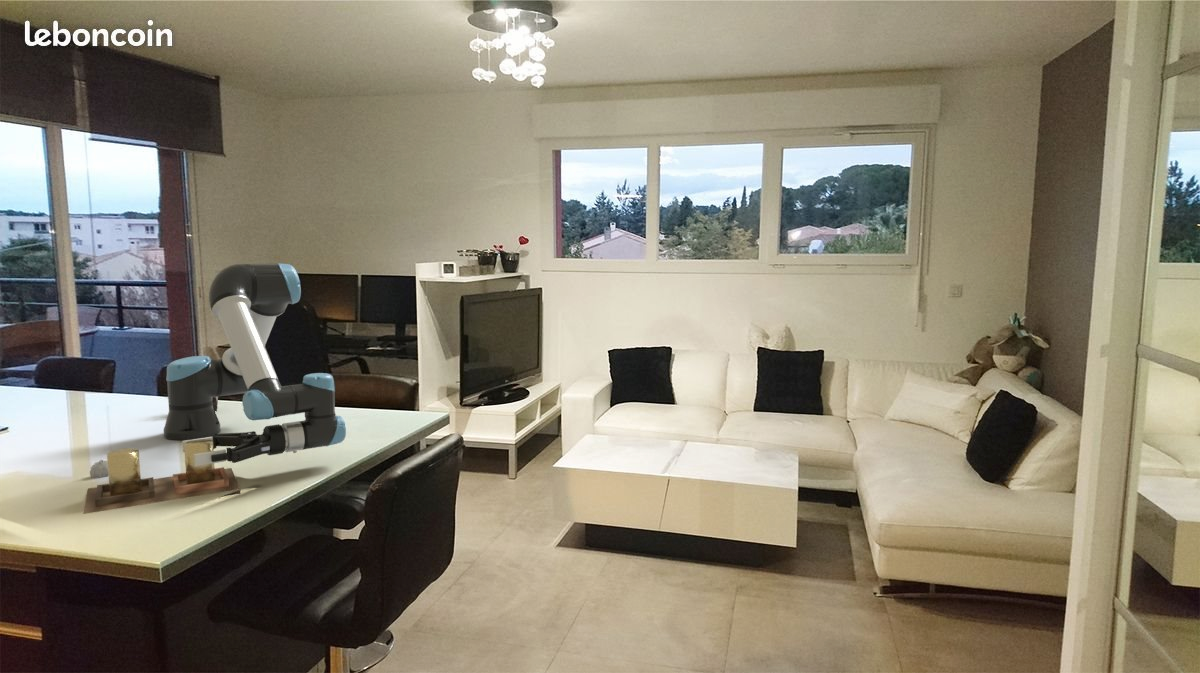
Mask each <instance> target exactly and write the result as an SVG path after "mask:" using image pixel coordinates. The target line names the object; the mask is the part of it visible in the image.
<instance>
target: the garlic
mask: <svg viewBox="0 0 1200 673" xmlns="http://www.w3.org/2000/svg"><path fill="white" fill-rule="evenodd" d="M89 476H90V477H91V478H105V477H109V475H108V462H107V460H104V459H99V461H96V462H95V463H94V464H92V466H91V467H90V470H89Z"/></svg>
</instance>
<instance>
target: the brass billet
mask: <svg viewBox="0 0 1200 673" xmlns="http://www.w3.org/2000/svg"><path fill="white" fill-rule="evenodd" d="M199 439H200V438H199ZM192 440H193V439H192ZM184 449H185V452H184V462H185V473H186V480H187V485H189V484H196V483H202V482H209V481H215V463H212V464H206V465H200V466H195V465H194V454H198V453H205V452H211V451H215V449H213V441H212V440H209V439H200V440H193V441H189V442H186V443H185V444H184Z"/></svg>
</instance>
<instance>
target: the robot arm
mask: <svg viewBox="0 0 1200 673" xmlns="http://www.w3.org/2000/svg"><path fill="white" fill-rule="evenodd" d="M301 294H302V289H301V280H300V278H299V274H298V272H297V270H296V268H295V267H294V266H292V264H289V263H279V262H275V263H235V264H230V265H229V266H227V267H224V268H223V269H222V270H220V271H219V272H218V273H217V274H216V276H215V277H214V278H213V280H212V282H211V284H210V287H209V291H208V303H209V307H210V310H211V312H212V314H213V316H214V317H215V318H217V319H219V321H220V323H221V326H222V328H223V330H224V333H225V336H226V338H227V341H228V344H229V346H230V347H229V348H227V349H226V350H225V351H224V353H223V354H222V356H221V358H217V359H211V357H210V356H209V355H197V356H196V355H195V356H187V357H183V358H180V359H176V360H173V361H171V362H170V363H169V364H168V365H167V367H166V378H165V380H166V383H167V384H166V385H167V397H168V398H167V400H168V414H167V417H166V421H165V423H164V427H163V437H164V438H165V439H168V440H174V441H176V440H177V441H181V442H182V453H185V449H184V444H185V443H186V442H189V441H193V440H200V439H209V440H212V441H213V450H214V451H211V452H205V453H198V454H194V465H195V466H200V465H206V464H212V463H214V464H216V463H217V464H219V463H224V462H231V463H233V464H235V463H236V464H237V463H239V462H242V461H245V460H248V459H251V458H255V457H257V456H261V455H265V454H267V456H275V455H281V454H284V453H290V452H293V453H294V454H296V453H297V452H298V451H303V450H308V449H315V448H322V447H329V446H333V445H337V444H340V443H342V442H343V441H345V438H346V435H347V427H346V423H345V420H344V418H343V417H342V416H341V415H336V411H335V410H336V406H335V405H336V404H335V403H336V399H335V398H336V395H335V392H336V391H335V390H336V389H335V388H336V387H335V380H334V376H333V375H332V374H330V373H327V372H325V373H324V372H315V373H308V374H305V375H304V376H303V377H302V383H298V384H289V385H284V386H283V385H281V383H280V380H279V378H278V376H277V373H276V371H275V368H274V366H273V364H272V361H271V358H270V355H269V353H268V351H267V348H266V344H267V341H268V339H269V337H270V334H271V331H272V329H273V327H274V324H275V322H276V319H277V317H279V316H280V315H283V313H285V311H286V309H287V307H288V305H289V304H291V305H294V304H297V303H298V302H299V301H300V299H301ZM239 394H243V396H242V400H241V401H242V410H243V412H244V415H245V417H246V418H247V419H248V420H251V421H261V420H270V419H273V418H279V417H286V416H291V415H297V414H304V418H305V419H304V420H300V421H290V422H284V423H282V424H280V423H279V424H273V425H271V424H270V425H265V427H264V428H263V430H262V431H263V432H262V434H257V432H256V431H254V430H253V431H247V432H246V431H245V432H244V431H243V432H226V433H223V432H222V433H220V432H221V429H222V428H221V423H220V420H219V418H218V416H217V414H216V412H215V411H214V409H213V402H212V398H213V397H218V398H219V397H222V396H223V397H224V396H225V397H226V396H231V395H232V396H233V395H239ZM211 435H212V436H211ZM217 447H226V448H225V449H218V450H215V449H217ZM232 447H233V448H232Z"/></svg>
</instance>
